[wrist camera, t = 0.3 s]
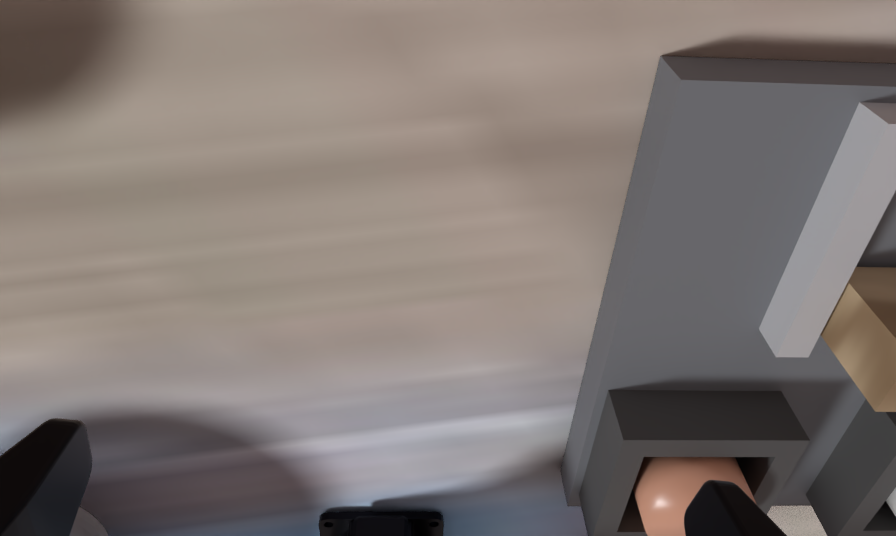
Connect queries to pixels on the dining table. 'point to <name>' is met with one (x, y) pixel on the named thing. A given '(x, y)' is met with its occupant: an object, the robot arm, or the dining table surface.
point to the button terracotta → (678, 488)
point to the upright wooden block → (867, 334)
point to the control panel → (744, 292)
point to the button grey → (892, 501)
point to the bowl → (87, 525)
